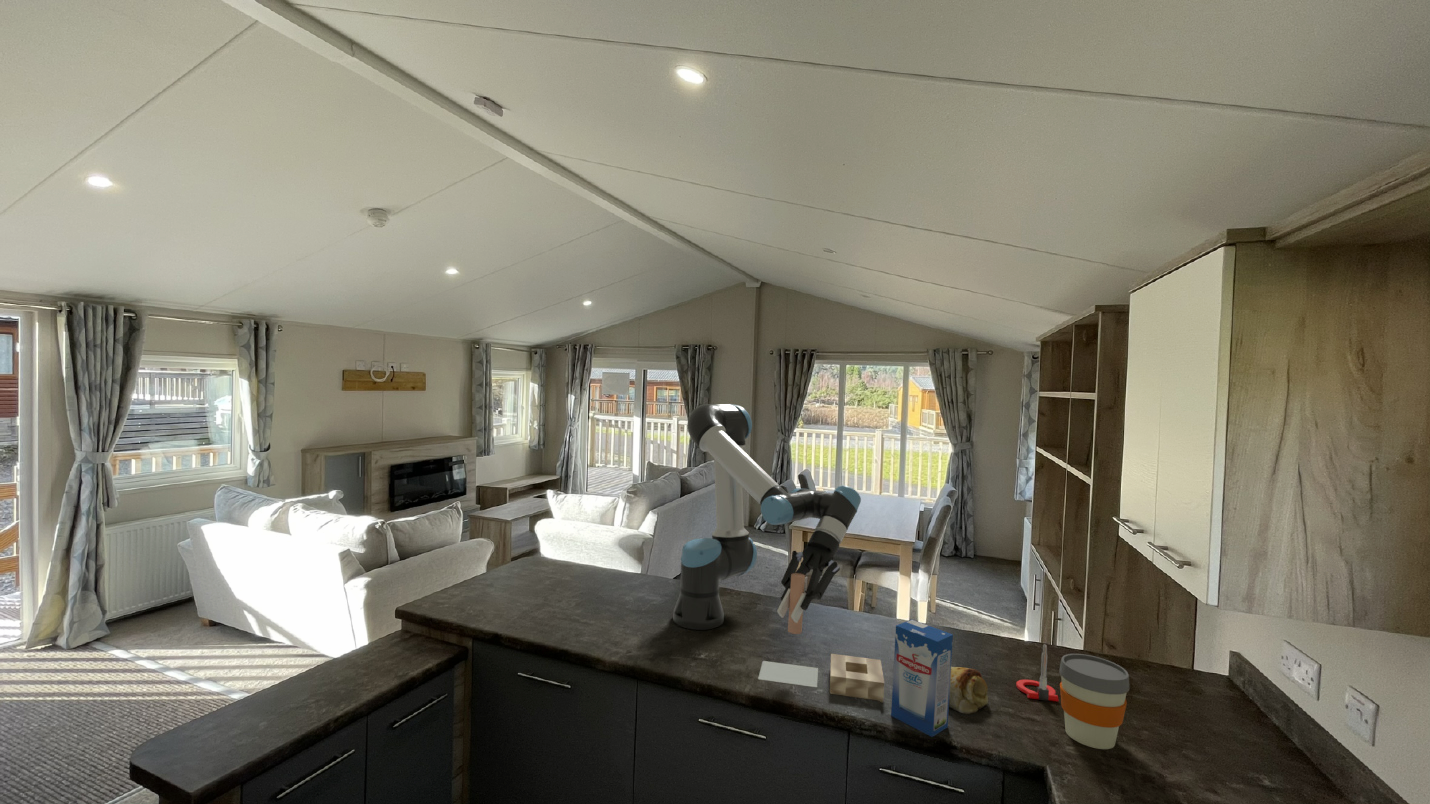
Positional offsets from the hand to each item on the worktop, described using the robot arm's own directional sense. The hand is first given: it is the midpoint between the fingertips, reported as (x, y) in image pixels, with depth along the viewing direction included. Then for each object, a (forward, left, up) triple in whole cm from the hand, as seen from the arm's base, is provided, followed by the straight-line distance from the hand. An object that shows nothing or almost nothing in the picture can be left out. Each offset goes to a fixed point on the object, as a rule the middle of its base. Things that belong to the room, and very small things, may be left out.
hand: (787, 616), depth 147 cm
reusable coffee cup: (+65, -7, -15) cm, 67 cm away
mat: (+1, +2, -15) cm, 15 cm away
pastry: (+41, +2, -16) cm, 43 cm away
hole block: (+17, +1, -15) cm, 23 cm away
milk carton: (+30, -11, -15) cm, 35 cm away
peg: (+2, +3, -5) cm, 6 cm away
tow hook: (+60, +11, -16) cm, 63 cm away
